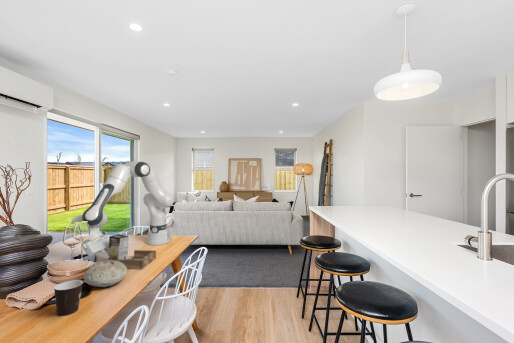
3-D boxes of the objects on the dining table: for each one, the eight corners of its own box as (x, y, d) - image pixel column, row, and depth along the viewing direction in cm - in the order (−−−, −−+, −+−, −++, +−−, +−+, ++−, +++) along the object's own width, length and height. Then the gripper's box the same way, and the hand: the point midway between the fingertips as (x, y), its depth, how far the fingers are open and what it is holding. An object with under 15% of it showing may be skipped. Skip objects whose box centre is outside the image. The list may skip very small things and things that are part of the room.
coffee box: (107, 263, 145) (108, 236, 146) (117, 260, 151) (118, 233, 152) (118, 265, 142) (119, 237, 142) (128, 262, 148) (129, 235, 148)
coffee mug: (63, 305, 98) (64, 280, 98) (86, 305, 98) (87, 279, 99) (40, 323, 86) (41, 294, 86) (66, 322, 87) (67, 293, 87)
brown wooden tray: (125, 259, 156) (125, 250, 156) (155, 260, 155) (155, 250, 155) (107, 270, 137) (107, 259, 137) (141, 271, 137) (141, 260, 137)
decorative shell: (135, 278, 125) (135, 258, 125) (105, 294, 107) (106, 271, 108) (106, 274, 129) (106, 255, 129) (73, 289, 112) (74, 267, 112)
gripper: (84, 239, 137) (101, 257, 136) (107, 231, 157) (122, 247, 157) (76, 247, 137) (93, 265, 136) (100, 238, 157) (114, 254, 157)
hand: (108, 255), depth 147 cm, fingers closed
